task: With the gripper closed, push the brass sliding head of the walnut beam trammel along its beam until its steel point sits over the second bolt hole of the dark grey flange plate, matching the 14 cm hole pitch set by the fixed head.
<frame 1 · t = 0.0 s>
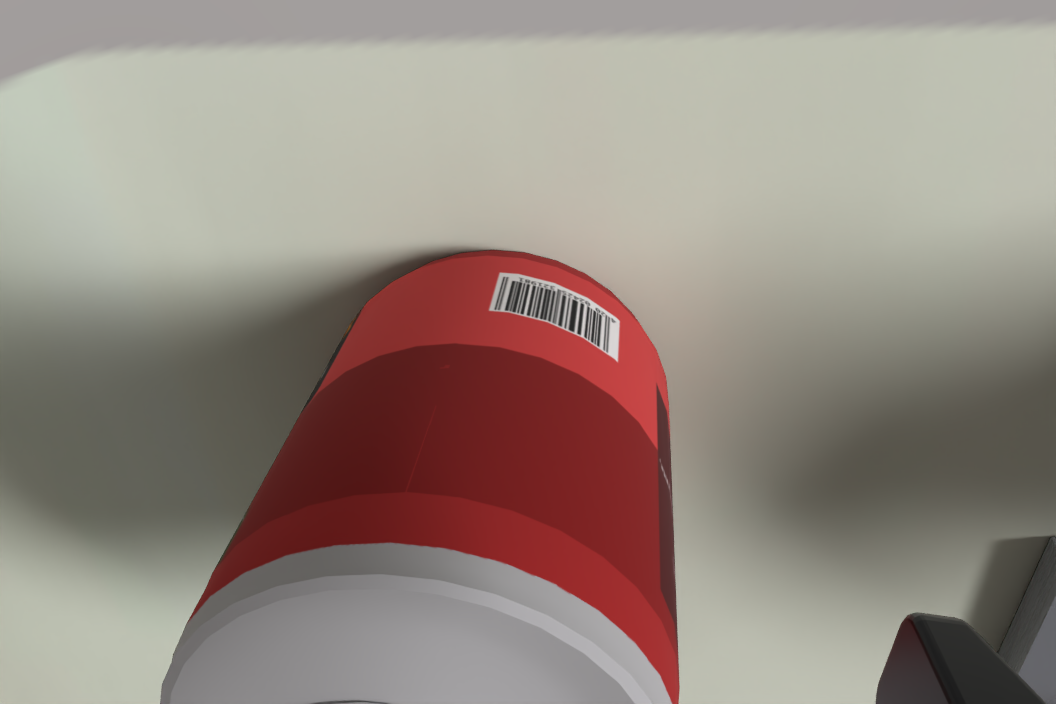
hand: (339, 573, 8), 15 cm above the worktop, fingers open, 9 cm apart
canned food: (505, 377, 25), on the worktop
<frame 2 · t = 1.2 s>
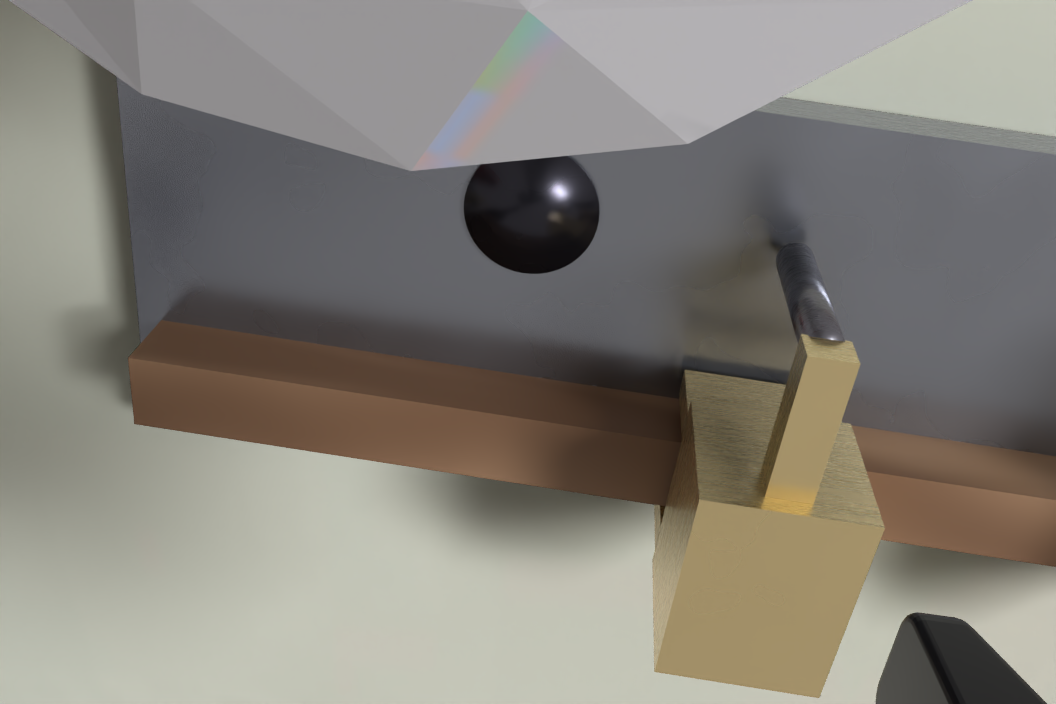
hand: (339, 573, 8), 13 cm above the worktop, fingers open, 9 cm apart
plate: (759, 311, 21), on the worktop
beam: (733, 409, 22), resting on plate
slider: (767, 458, 18), point 4 cm above the worktop, slide at 0.0 cm
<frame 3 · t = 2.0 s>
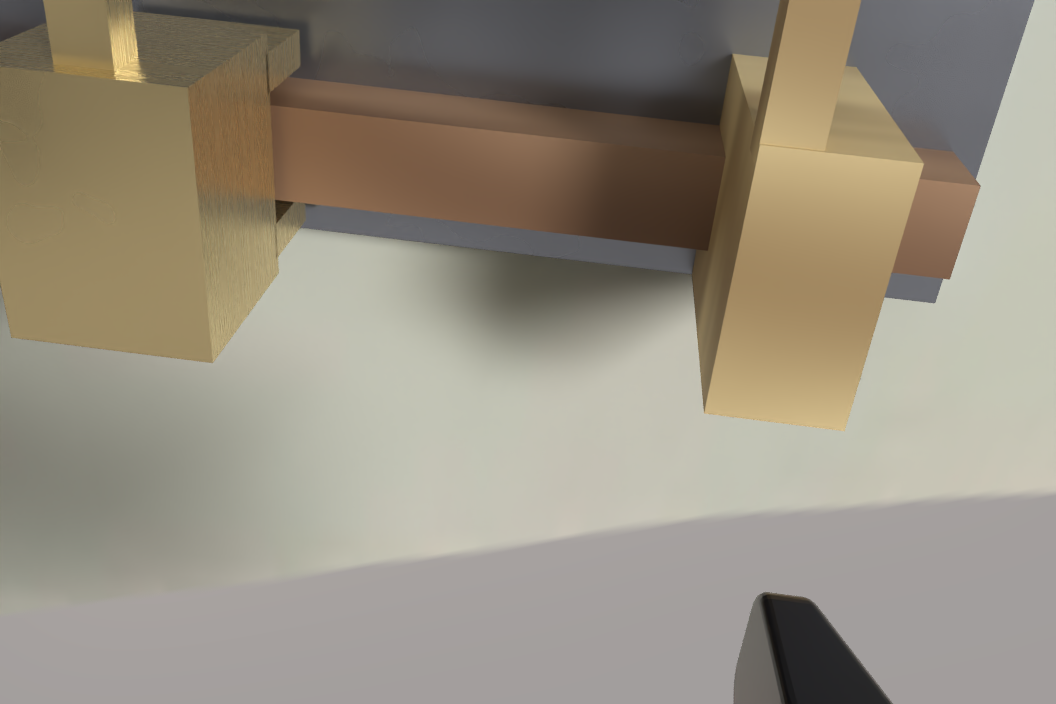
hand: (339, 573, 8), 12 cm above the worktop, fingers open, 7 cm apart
beam: (247, 95, 19), resting on plate
slider: (153, 72, 15), point 4 cm above the worktop, slide at 0.0 cm
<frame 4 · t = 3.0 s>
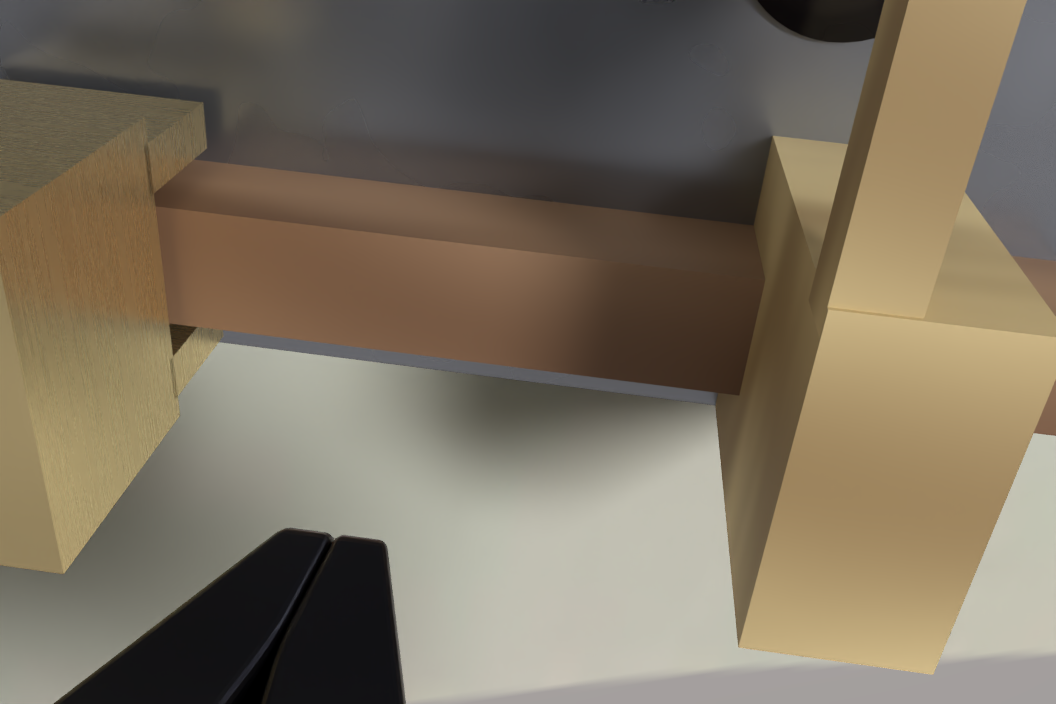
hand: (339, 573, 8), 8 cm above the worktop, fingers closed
beam: (153, 174, 15), resting on plate
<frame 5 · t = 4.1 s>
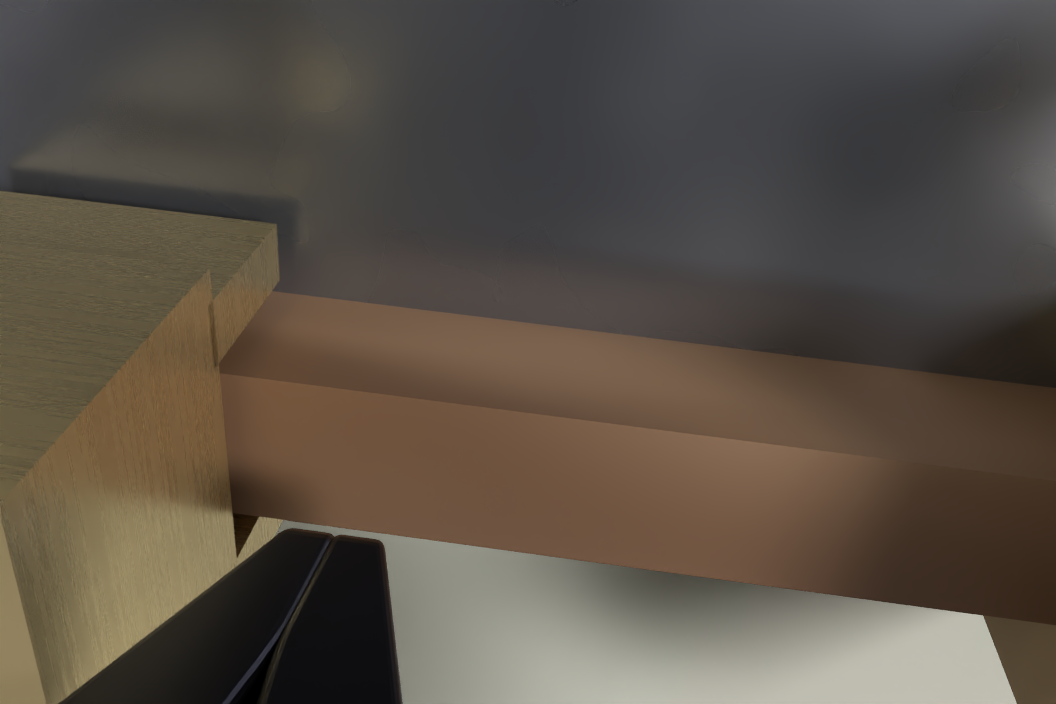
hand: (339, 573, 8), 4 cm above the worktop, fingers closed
plate: (240, 87, 10), on the worktop
beam: (255, 298, 12), resting on plate
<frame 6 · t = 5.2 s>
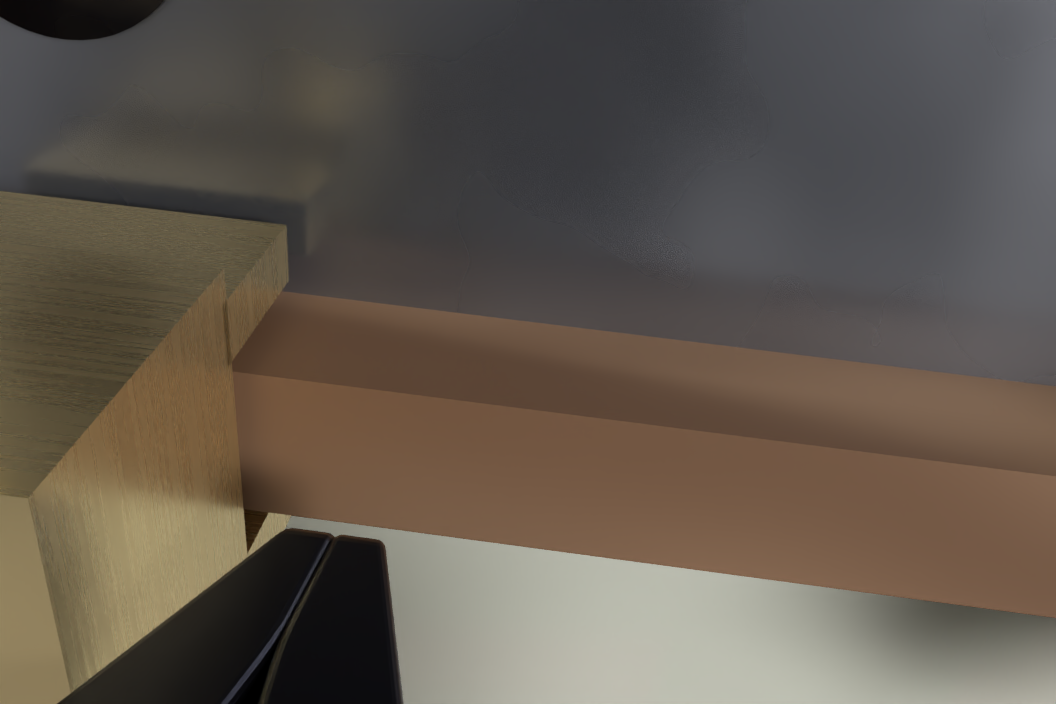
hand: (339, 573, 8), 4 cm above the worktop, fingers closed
plate: (602, 130, 10), on the worktop
beam: (576, 337, 12), resting on plate
slider: (12, 348, 8), point 4 cm above the worktop, slide at 4.4 cm, touching gripper
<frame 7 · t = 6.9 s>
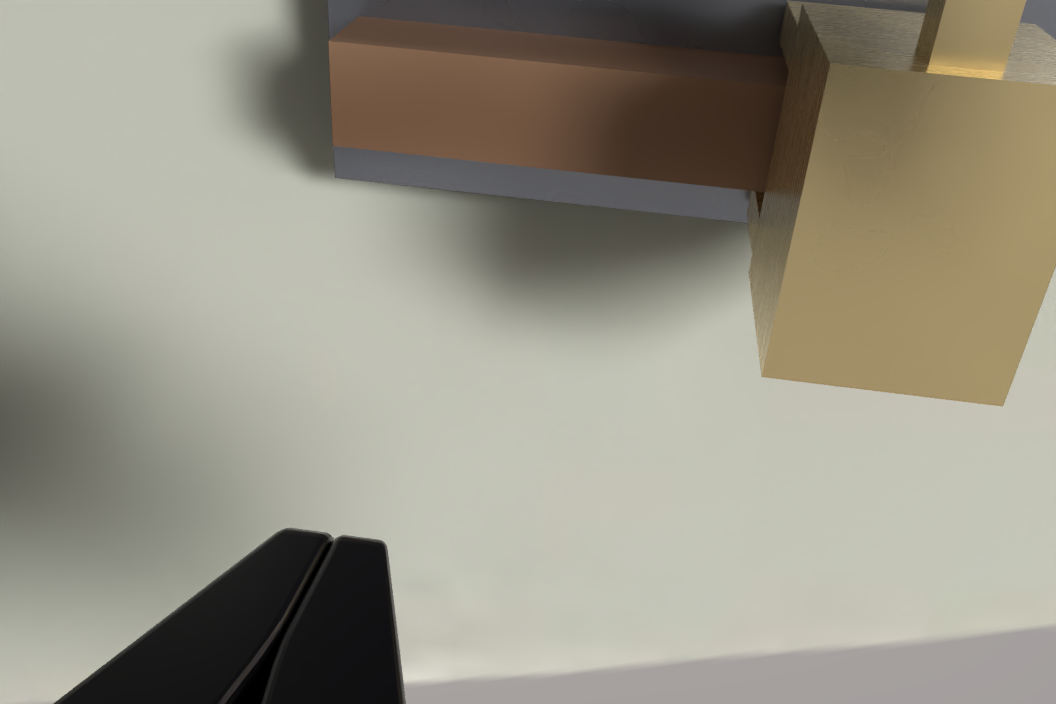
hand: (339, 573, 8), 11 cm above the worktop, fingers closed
slider: (916, 71, 13), point 4 cm above the worktop, slide at 4.4 cm
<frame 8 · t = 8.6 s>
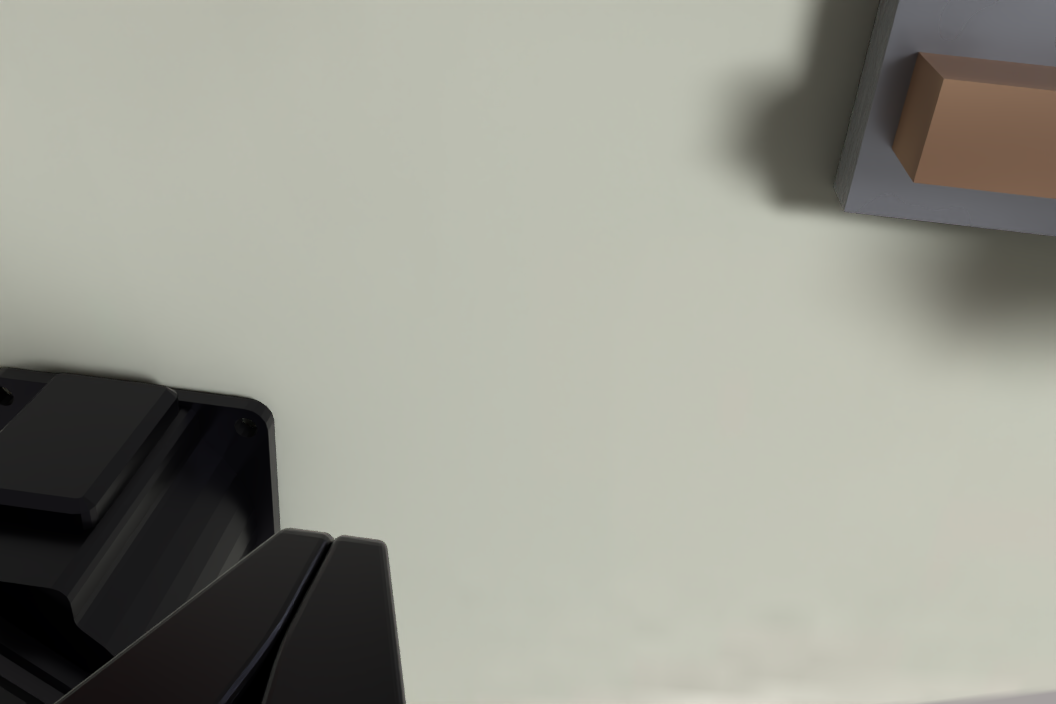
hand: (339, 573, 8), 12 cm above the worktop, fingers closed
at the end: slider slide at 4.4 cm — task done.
